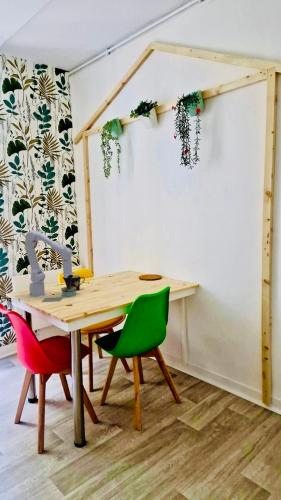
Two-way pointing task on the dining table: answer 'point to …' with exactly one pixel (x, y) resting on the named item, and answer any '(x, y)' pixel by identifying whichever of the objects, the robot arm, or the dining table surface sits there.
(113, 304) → the dining table surface
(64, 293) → the bowl
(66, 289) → the lid
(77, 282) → the coffee mug
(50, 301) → the mat
